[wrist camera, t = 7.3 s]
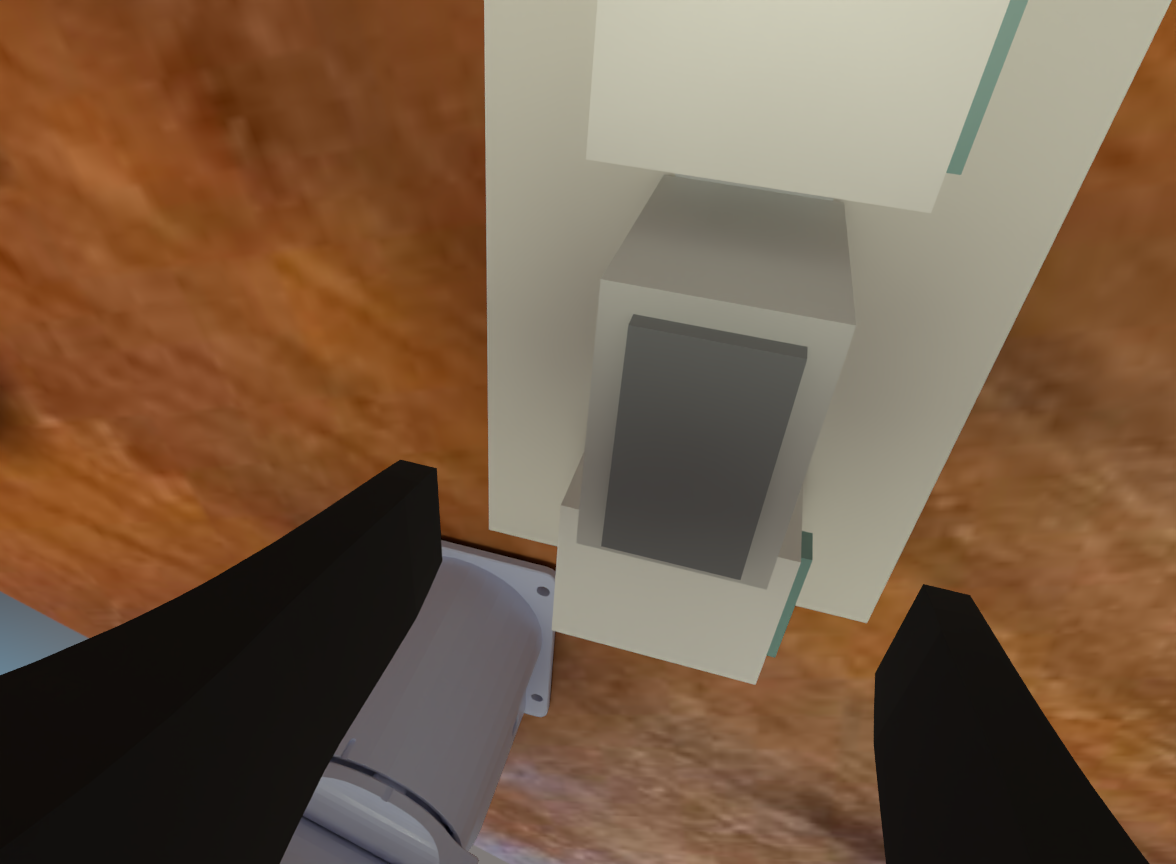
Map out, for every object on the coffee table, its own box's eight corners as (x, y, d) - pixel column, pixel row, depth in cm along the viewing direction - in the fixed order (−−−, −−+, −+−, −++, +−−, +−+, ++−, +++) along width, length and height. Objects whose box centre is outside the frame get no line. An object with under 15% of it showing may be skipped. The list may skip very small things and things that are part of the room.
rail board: (865, 599, 24) (867, 635, 23) (498, 511, 26) (483, 539, 25) (1237, -188, 12) (1283, -200, 11) (501, -236, 14) (471, -252, 13)
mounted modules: (775, 595, 23) (769, 688, 20) (582, 548, 24) (551, 630, 21) (1041, -153, 12) (1110, -176, 9) (657, -182, 13) (613, -211, 10)
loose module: (778, 424, 19) (765, 604, 14) (633, 394, 20) (570, 556, 15) (844, 202, 15) (857, 338, 10) (663, 174, 16) (594, 288, 11)
